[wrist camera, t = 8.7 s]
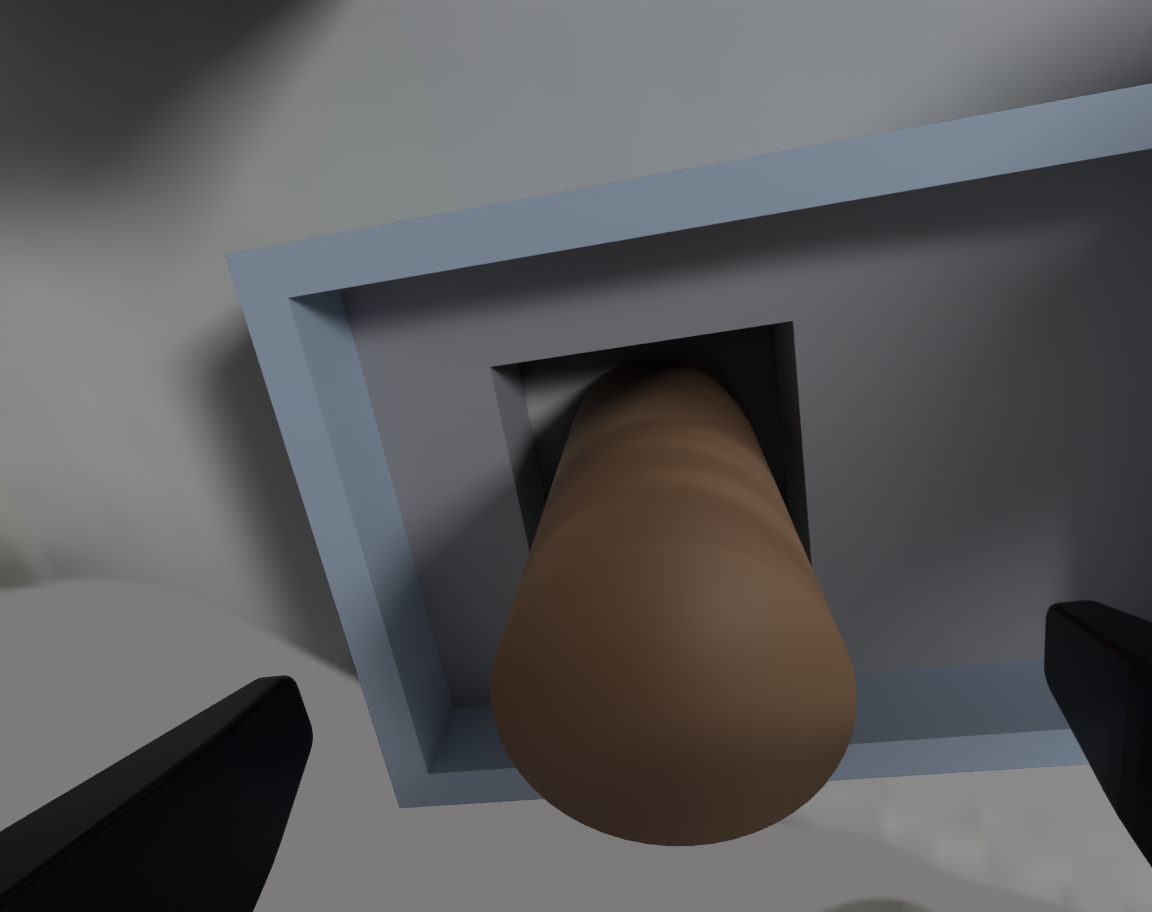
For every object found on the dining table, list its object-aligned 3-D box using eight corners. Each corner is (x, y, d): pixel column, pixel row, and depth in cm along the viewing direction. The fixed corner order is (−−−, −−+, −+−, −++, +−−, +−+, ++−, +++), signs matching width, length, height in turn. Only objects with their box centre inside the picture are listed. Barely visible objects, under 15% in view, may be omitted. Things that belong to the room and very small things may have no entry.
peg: (740, 343, 16) (847, 523, 7) (757, 514, 17) (865, 836, 8) (555, 369, 16) (455, 566, 8) (586, 534, 18) (528, 854, 9)
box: (1167, 84, 13) (1405, 36, 9) (1125, 611, 17) (1283, 751, 13) (339, 236, 16) (224, 254, 11) (454, 672, 19) (399, 807, 15)
